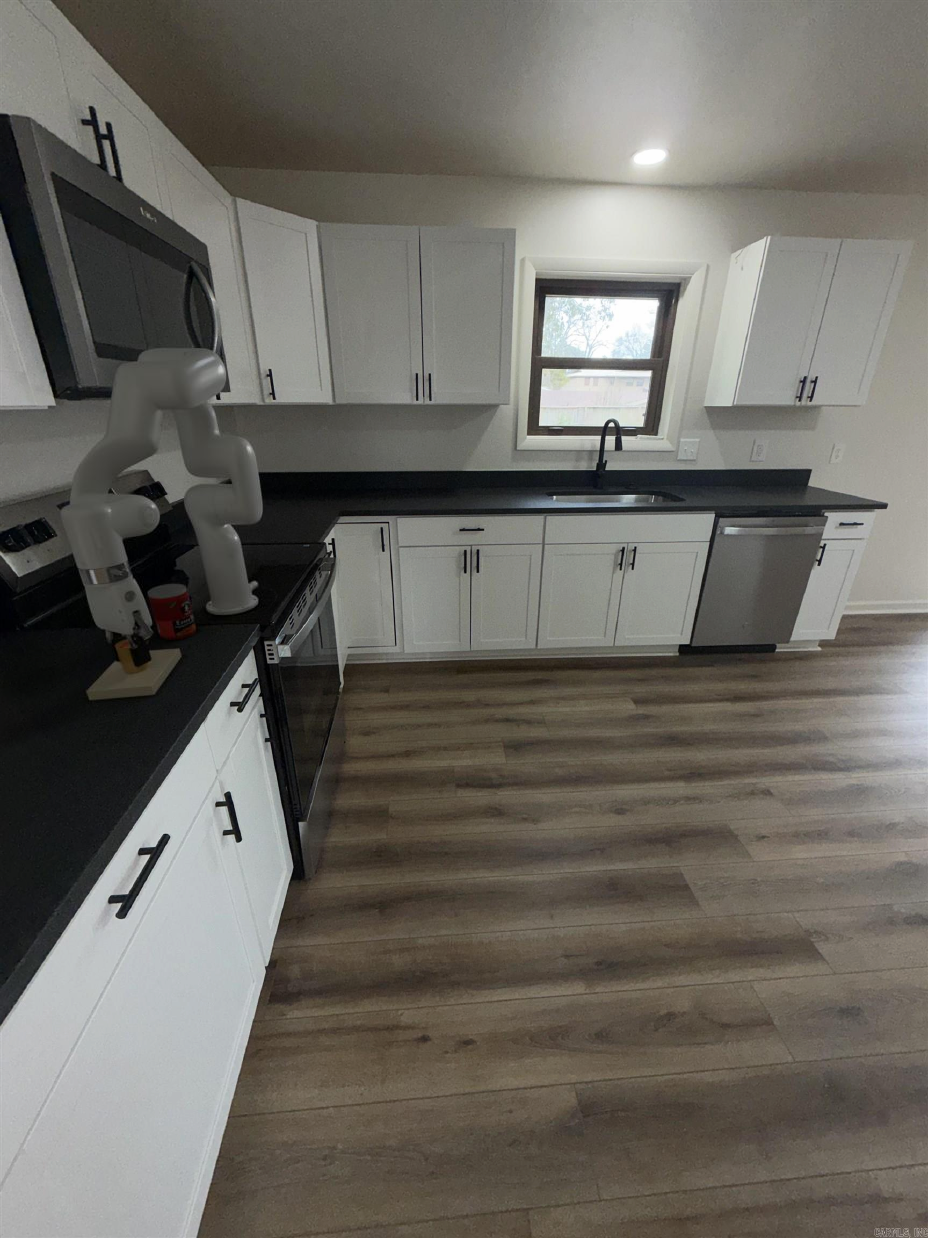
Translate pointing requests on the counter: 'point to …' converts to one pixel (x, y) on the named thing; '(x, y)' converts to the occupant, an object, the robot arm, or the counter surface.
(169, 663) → the plate
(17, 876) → the counter surface
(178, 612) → the canned food
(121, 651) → the tap handle
